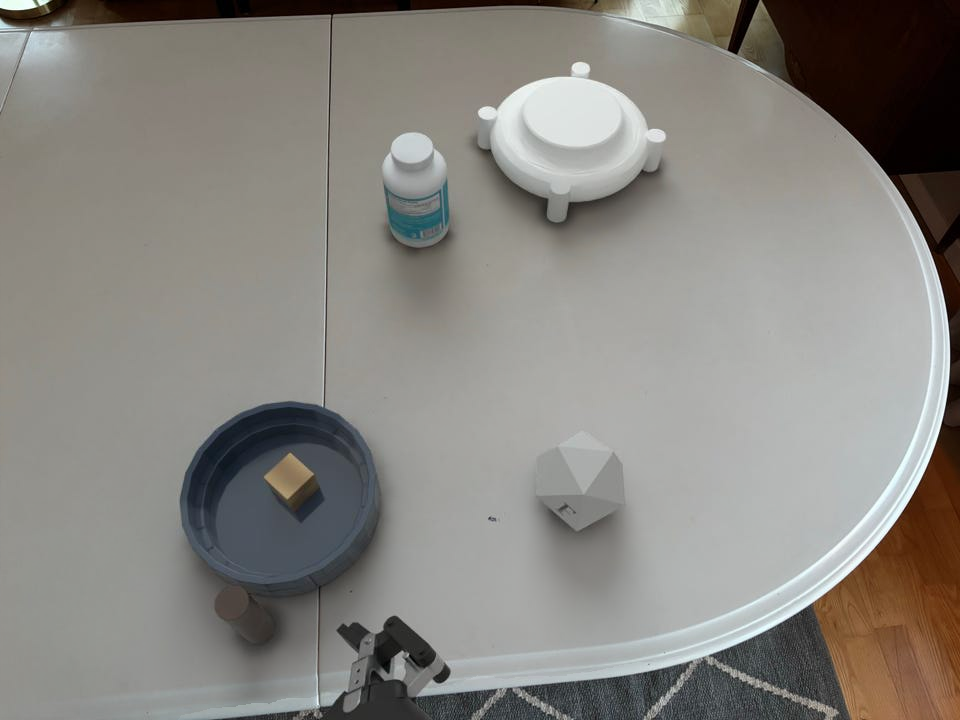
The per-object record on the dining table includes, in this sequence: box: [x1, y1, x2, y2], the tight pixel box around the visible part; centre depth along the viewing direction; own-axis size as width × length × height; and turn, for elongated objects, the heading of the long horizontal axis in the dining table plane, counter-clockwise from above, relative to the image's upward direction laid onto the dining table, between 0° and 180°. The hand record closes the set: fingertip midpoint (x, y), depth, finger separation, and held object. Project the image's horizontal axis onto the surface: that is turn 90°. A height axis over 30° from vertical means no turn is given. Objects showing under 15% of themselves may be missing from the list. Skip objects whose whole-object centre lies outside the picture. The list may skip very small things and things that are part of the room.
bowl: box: [179, 400, 382, 598], centre depth 78 cm, size 18×19×5 cm
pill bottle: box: [381, 132, 450, 249], centre depth 92 cm, size 8×7×14 cm
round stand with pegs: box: [477, 61, 667, 224], centre depth 102 cm, size 24×24×7 cm
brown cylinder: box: [214, 585, 276, 646], centre depth 69 cm, size 3×3×10 cm
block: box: [263, 453, 320, 512], centre depth 78 cm, size 4×4×4 cm
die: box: [534, 430, 626, 532], centre depth 77 cm, size 8×9×10 cm
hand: (301, 682), depth 55 cm, fingers open, 8 cm apart
